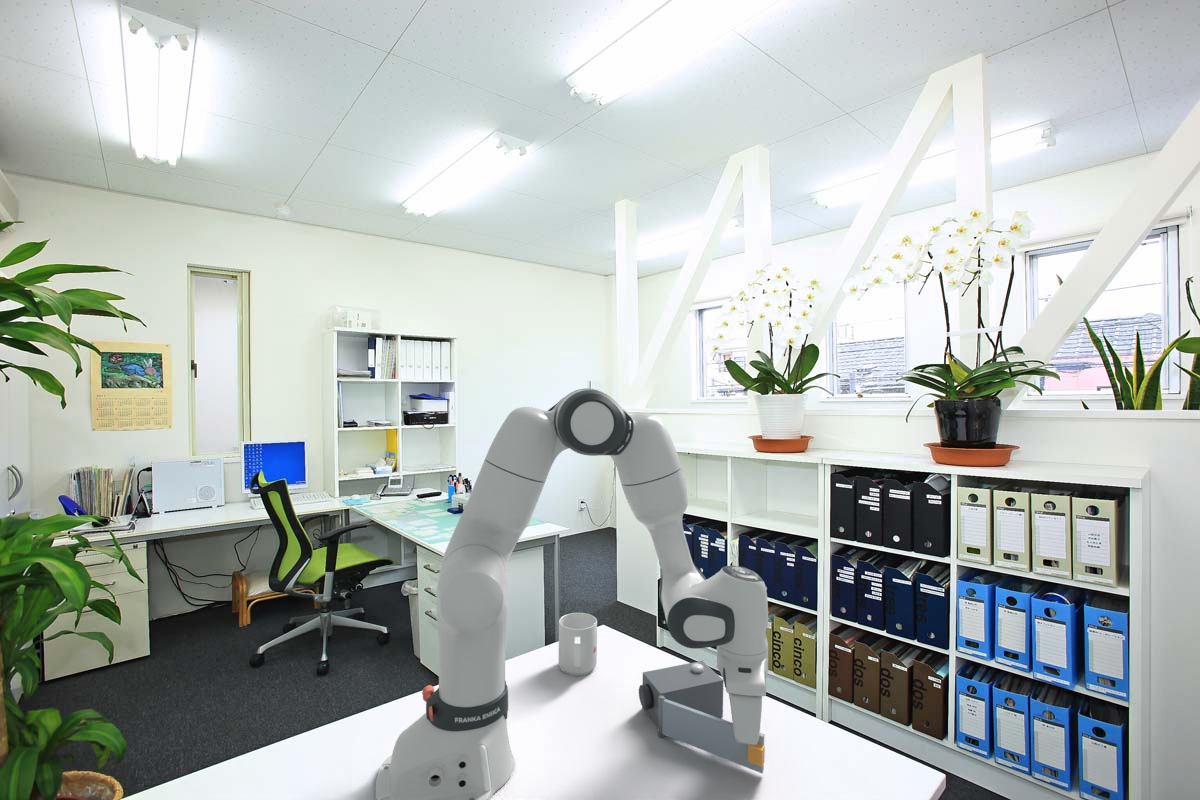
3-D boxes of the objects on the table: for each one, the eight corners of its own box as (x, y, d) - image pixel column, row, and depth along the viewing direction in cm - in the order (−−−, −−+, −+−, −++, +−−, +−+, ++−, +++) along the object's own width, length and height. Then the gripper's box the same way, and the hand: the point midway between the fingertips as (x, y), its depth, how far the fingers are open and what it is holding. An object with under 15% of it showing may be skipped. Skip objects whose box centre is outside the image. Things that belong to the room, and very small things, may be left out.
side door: (653, 739, 102) (654, 701, 102) (659, 732, 104) (660, 694, 104) (761, 783, 91) (762, 740, 91) (765, 774, 93) (766, 732, 93)
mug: (559, 657, 132) (559, 612, 131) (596, 657, 132) (596, 612, 131) (556, 685, 120) (557, 635, 119) (597, 685, 120) (597, 636, 119)
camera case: (654, 733, 104) (655, 690, 104) (636, 709, 111) (637, 669, 111) (722, 716, 109) (723, 676, 109) (701, 695, 117) (702, 657, 116)
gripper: (721, 631, 108) (721, 699, 108) (726, 689, 88) (726, 772, 88) (754, 633, 107) (754, 702, 107) (767, 692, 87) (767, 777, 87)
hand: (741, 735), depth 98 cm, fingers closed
